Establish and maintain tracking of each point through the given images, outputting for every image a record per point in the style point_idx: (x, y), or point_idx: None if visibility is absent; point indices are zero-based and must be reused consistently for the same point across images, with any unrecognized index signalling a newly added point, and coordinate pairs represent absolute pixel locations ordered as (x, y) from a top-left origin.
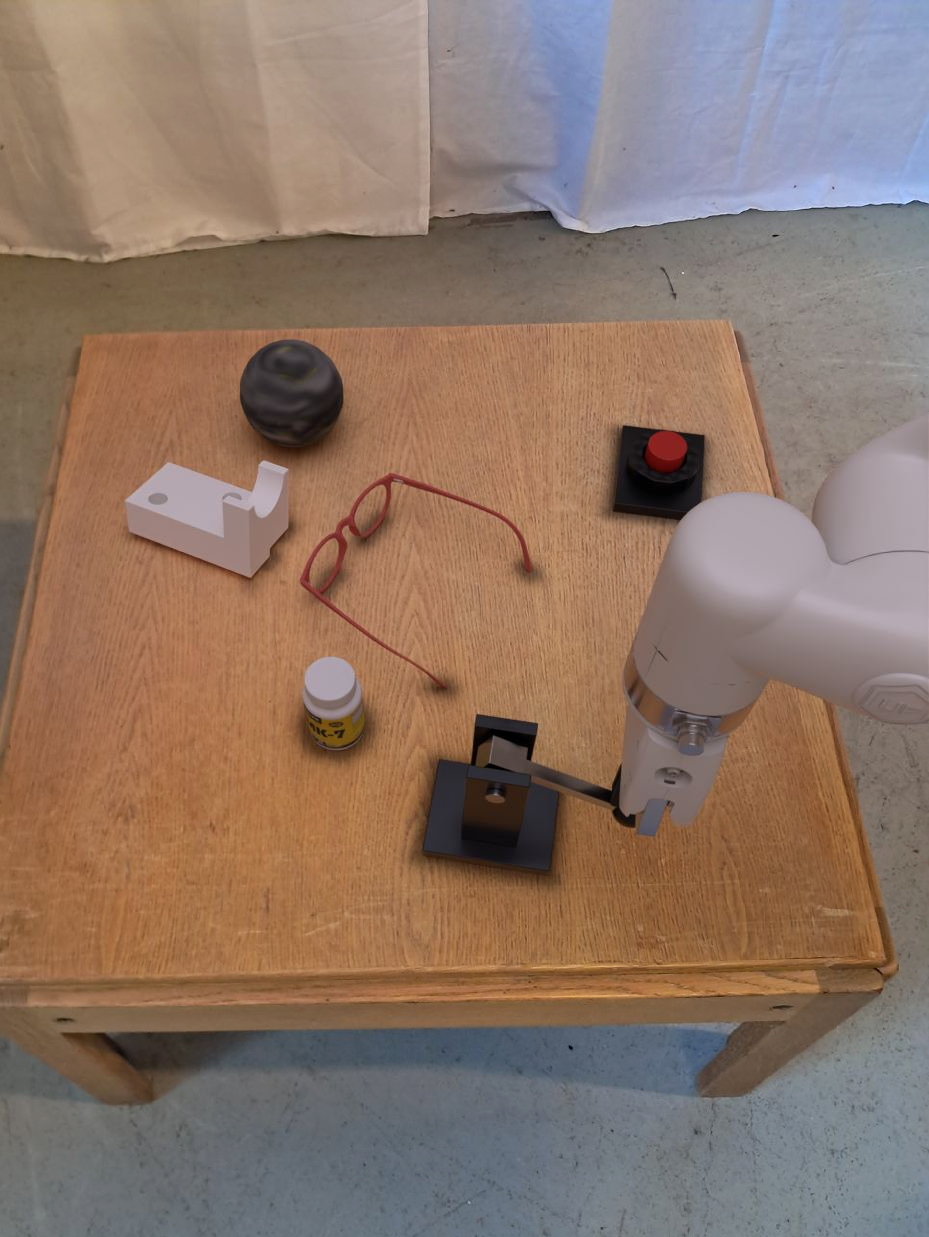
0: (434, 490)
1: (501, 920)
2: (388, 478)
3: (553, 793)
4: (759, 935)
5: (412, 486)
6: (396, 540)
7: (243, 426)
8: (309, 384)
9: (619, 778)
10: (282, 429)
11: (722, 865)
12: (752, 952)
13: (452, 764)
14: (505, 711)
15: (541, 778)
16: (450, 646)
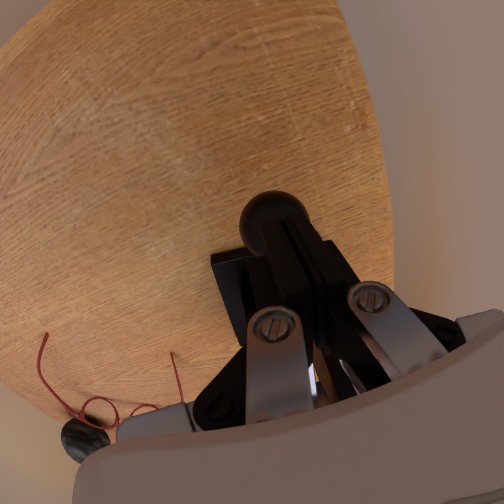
0: (64, 404)
1: (362, 251)
2: (80, 419)
3: (233, 265)
4: (314, 3)
5: (72, 409)
6: (97, 390)
7: (105, 429)
8: (83, 456)
9: (328, 354)
10: (104, 446)
11: (239, 48)
12: (336, 11)
13: (240, 338)
14: (162, 316)
15: (314, 378)
16: (136, 358)
